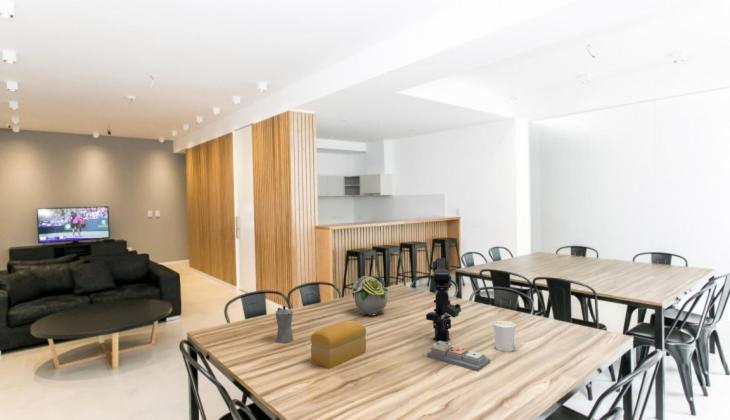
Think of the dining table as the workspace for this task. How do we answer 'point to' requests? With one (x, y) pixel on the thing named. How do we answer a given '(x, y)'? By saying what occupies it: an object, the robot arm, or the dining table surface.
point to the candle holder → (504, 335)
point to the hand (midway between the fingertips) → (442, 331)
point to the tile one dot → (474, 355)
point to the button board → (458, 359)
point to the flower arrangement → (370, 294)
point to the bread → (338, 343)
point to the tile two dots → (442, 345)
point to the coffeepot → (284, 325)
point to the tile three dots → (457, 351)
